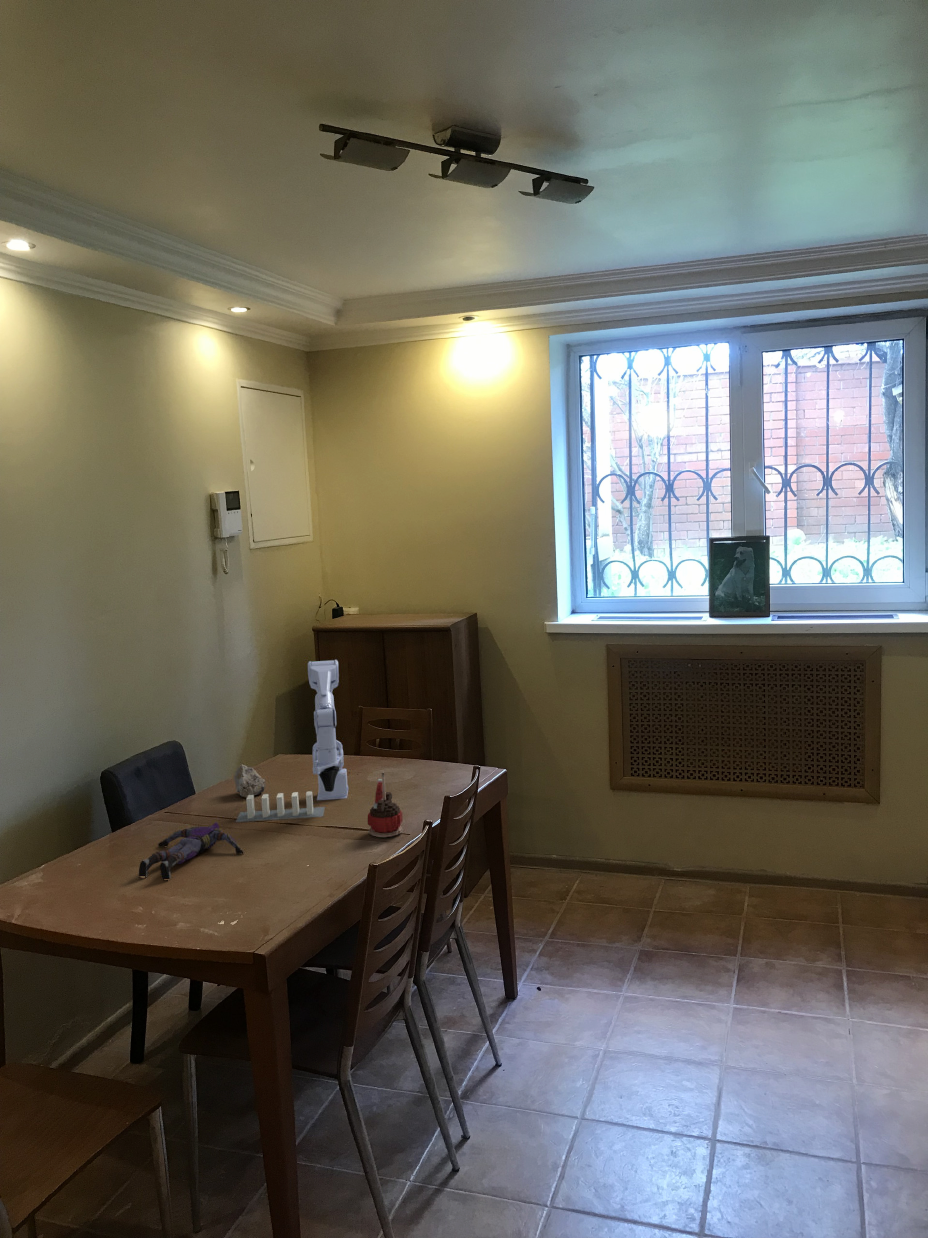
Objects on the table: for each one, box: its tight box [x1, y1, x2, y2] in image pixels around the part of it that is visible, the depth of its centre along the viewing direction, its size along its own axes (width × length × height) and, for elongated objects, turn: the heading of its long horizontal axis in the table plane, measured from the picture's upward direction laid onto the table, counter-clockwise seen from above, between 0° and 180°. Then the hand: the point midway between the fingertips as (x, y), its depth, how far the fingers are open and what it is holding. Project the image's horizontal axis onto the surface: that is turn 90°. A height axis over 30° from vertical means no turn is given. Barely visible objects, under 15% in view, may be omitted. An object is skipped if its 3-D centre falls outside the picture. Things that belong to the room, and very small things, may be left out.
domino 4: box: [291, 791, 300, 816], centre depth 294 cm, size 2×4×6 cm, turn 5°
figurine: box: [138, 821, 244, 880], centre depth 260 cm, size 27×6×30 cm
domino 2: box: [261, 793, 270, 817], centre depth 293 cm, size 2×4×6 cm, turn 4°
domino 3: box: [276, 792, 285, 817], centre depth 293 cm, size 2×4×6 cm, turn 5°
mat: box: [235, 806, 326, 823], centre depth 294 cm, size 26×9×1 cm, turn 94°
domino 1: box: [246, 795, 256, 818], centre depth 293 cm, size 2×4×6 cm, turn 4°
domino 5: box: [305, 791, 314, 815], centre depth 294 cm, size 2×4×6 cm, turn 5°
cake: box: [367, 771, 404, 838], centre depth 273 cm, size 11×9×18 cm
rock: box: [234, 764, 266, 799], centre depth 314 cm, size 9×12×10 cm
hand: (329, 791), depth 294 cm, fingers closed
